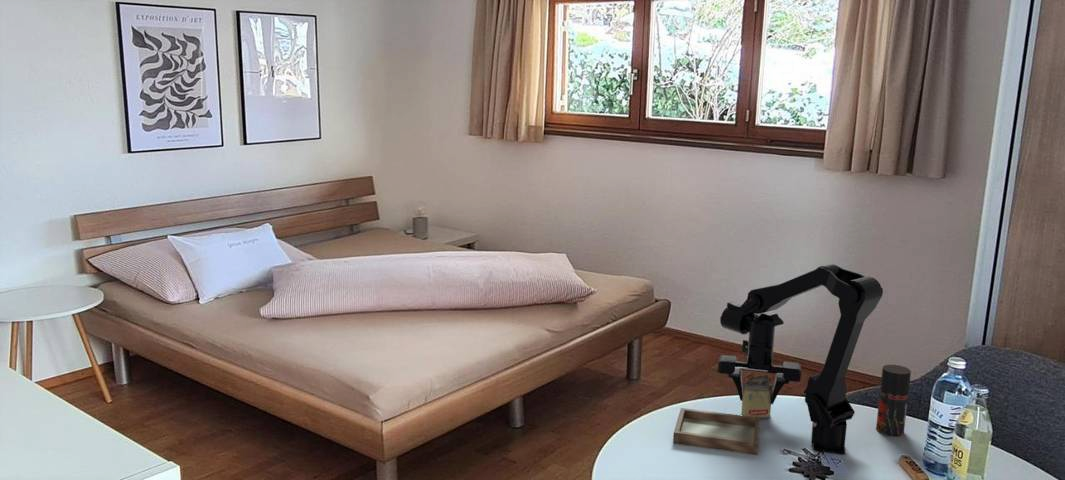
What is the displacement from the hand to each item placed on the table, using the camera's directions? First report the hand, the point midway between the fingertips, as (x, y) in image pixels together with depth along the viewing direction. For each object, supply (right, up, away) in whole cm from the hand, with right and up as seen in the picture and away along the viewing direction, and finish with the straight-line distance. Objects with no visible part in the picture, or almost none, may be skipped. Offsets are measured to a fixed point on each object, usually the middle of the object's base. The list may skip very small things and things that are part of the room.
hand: (756, 402), depth 201 cm
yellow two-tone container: (0, -4, +1) cm, 4 cm away
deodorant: (+29, -6, -6) cm, 30 cm away
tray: (-12, -6, -10) cm, 17 cm away
